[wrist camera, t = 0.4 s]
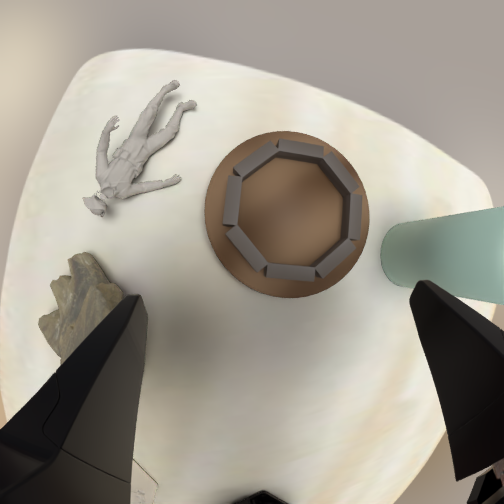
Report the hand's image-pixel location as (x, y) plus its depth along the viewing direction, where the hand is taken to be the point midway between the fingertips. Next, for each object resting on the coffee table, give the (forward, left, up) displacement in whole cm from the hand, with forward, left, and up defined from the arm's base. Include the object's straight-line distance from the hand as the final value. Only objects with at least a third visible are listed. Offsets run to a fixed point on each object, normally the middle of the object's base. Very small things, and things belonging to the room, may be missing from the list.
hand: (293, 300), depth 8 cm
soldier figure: (+13, +1, -15) cm, 20 cm away
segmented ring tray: (+2, -5, -14) cm, 15 cm away
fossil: (+4, +15, -15) cm, 21 cm away
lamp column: (-8, -12, -14) cm, 20 cm away
